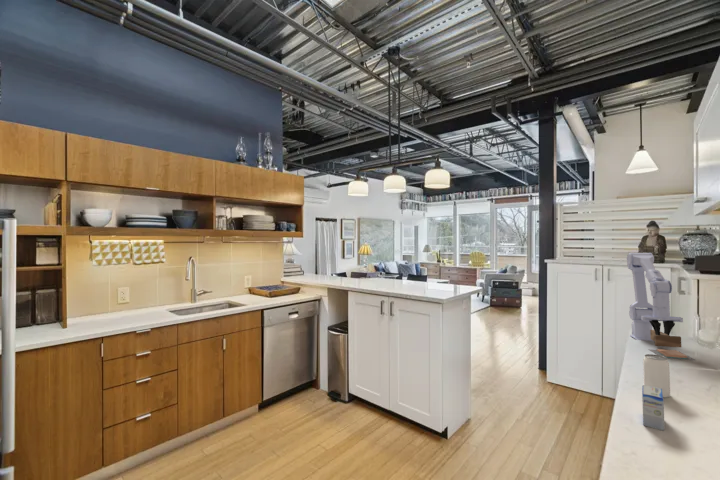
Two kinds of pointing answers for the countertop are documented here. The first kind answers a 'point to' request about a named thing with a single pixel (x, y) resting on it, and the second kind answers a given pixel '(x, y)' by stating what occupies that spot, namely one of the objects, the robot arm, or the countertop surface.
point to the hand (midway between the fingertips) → (662, 337)
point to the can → (657, 373)
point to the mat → (671, 358)
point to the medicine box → (653, 407)
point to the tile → (671, 353)
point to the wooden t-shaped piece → (665, 339)
